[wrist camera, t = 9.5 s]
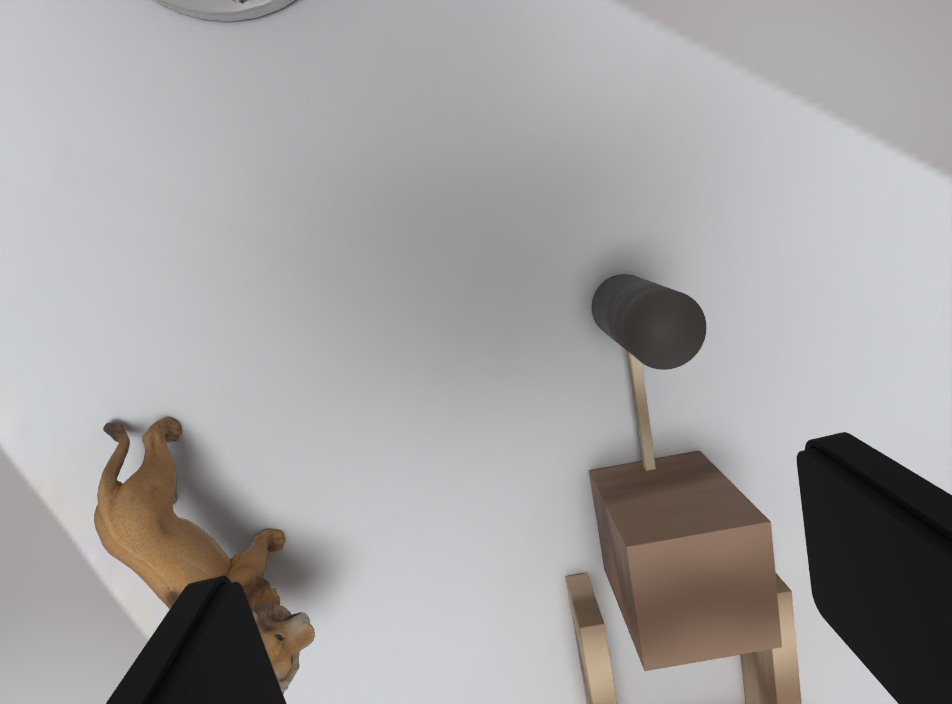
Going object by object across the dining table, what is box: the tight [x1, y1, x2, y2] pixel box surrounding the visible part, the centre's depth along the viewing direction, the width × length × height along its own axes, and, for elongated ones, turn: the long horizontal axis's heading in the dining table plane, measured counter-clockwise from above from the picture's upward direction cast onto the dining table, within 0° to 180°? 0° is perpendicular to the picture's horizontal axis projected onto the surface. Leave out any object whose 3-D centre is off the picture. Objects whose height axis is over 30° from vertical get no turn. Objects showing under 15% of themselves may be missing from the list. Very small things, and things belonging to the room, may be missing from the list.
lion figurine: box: [94, 418, 315, 694], centre depth 30 cm, size 15×5×9 cm, turn 46°
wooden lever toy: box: [589, 274, 782, 671], centre depth 29 cm, size 16×6×8 cm, turn 10°
